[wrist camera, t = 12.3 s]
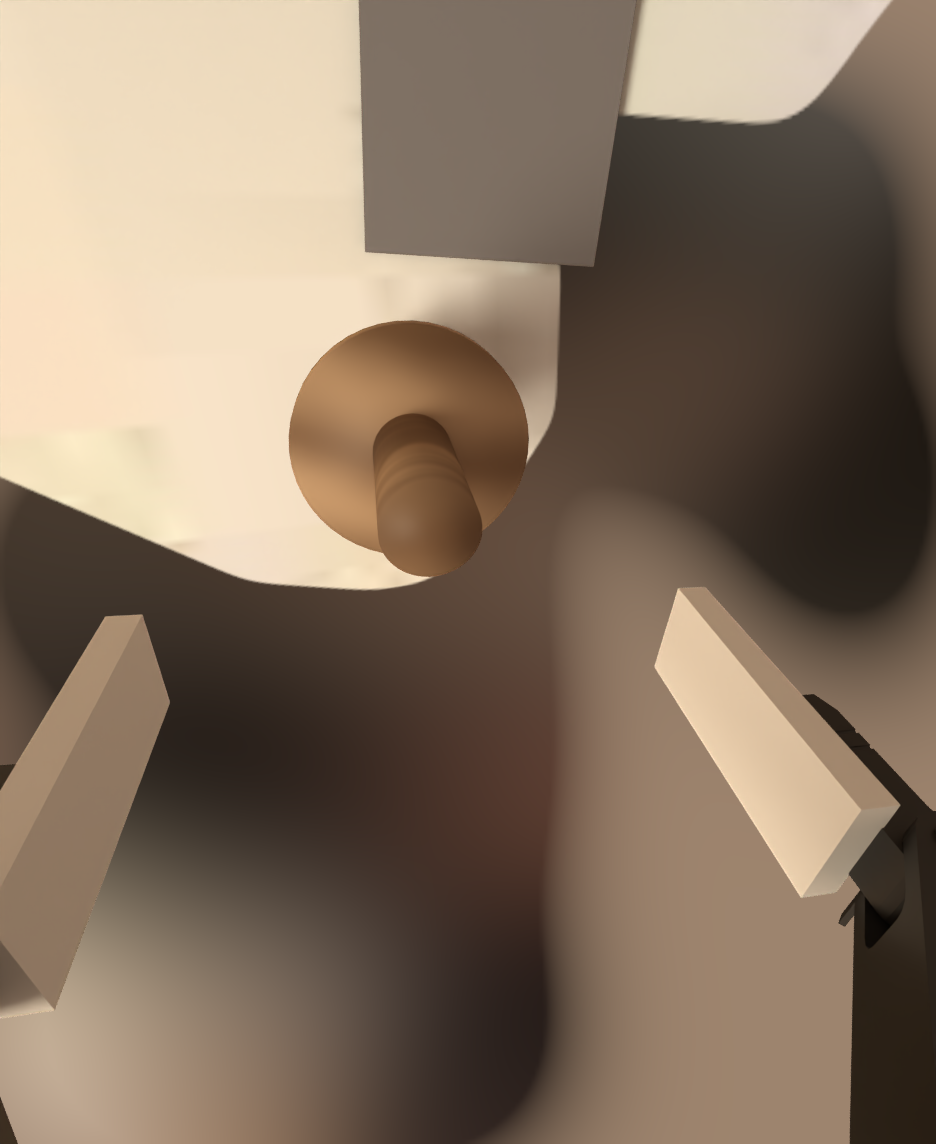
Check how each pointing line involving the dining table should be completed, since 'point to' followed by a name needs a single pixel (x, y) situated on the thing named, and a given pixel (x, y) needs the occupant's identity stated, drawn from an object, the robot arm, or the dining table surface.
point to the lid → (409, 443)
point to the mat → (490, 125)
